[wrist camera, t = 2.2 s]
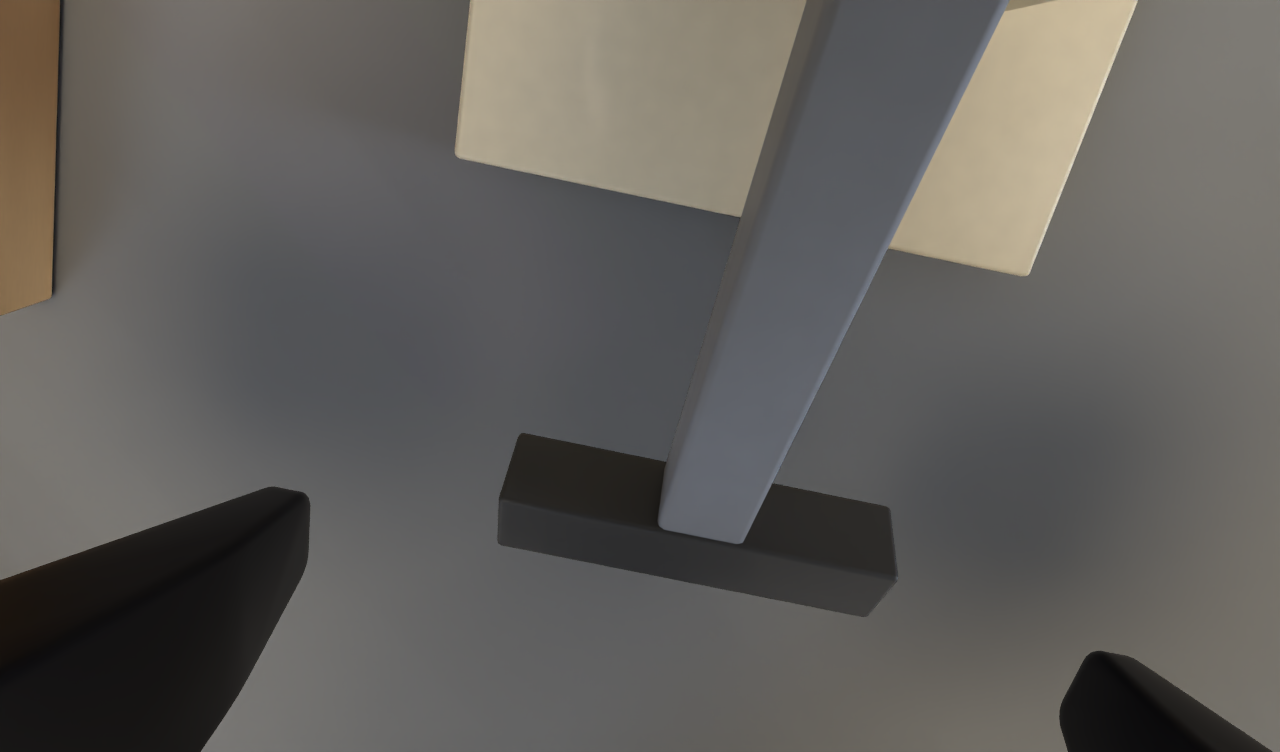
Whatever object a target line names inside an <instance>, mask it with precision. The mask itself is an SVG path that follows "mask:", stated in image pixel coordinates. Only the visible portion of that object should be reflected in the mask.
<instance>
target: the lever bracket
mask: <svg viewBox="0 0 1280 752" xmlns="http://www.w3.org/2000/svg"><path fill="white" fill-rule="evenodd" d="M806 1H807V0H470V7H469V16H468V26H467V36H466V45H465V55H464V65H463V74H462V84H461V94H460V103H459V113H458V123H457V132H456V142H455V155H456V156H457V157H458V158H460V159H464V160H469V161H473V162H478V163H483V164H488V165H492V166H497V167H502V168H507V169H511V170H516V171H521V172H526V173H531V174H535V175H540V176H545V177H550V178H554V179H559V180H564V181H569V182H573V183H578V184H583V185H588V186H592V187H597V188H602V189H607V190H611V191H616V192H621V193H626V194H631V195H635V196H640V197H645V198H650V199H654V200H659V201H664V202H669V203H673V204H678V205H683V206H688V207H692V208H697V209H702V210H707V211H711V212H716V213H721V214H726V215H731V216H735V217H740V218H741V215H742V212H743V209H744V205H745V202H746V199H747V195H748V192H749V189H750V185H751V182H752V179H753V176H754V172H755V169H756V166H757V162H758V159H759V156H760V153H761V149H762V146H763V143H764V139H765V136H766V133H767V130H768V126H769V123H770V120H771V116H772V113H773V110H774V106H775V103H776V100H777V97H778V93H779V90H780V87H781V83H782V80H783V77H784V74H785V70H786V67H787V64H788V60H789V57H790V54H791V51H792V47H793V44H794V41H795V37H796V34H797V31H798V27H799V24H800V21H801V18H802V14H803V11H804V8H805V4H806ZM1137 2H1138V0H1010V1H1009V3H1008V5H1007V7H1006V9H1005V11H1004V13H1003V15H1002V17H1001V19H1000V21H999V23H998V25H997V27H996V29H995V31H994V33H993V35H992V37H991V39H990V41H989V43H988V46H987V48H986V50H985V52H984V54H983V56H982V58H981V60H980V62H979V64H978V66H977V68H976V70H975V72H974V74H973V76H972V78H971V80H970V82H969V84H968V86H967V88H966V90H965V92H964V94H963V96H962V98H961V100H960V102H959V105H958V107H957V109H956V111H955V113H954V115H953V117H952V119H951V121H950V123H949V125H948V127H947V129H946V131H945V133H944V135H943V137H942V139H941V141H940V143H939V145H938V147H937V149H936V151H935V153H934V155H933V157H932V159H931V161H930V163H929V166H928V168H927V170H926V172H925V174H924V176H923V178H922V180H921V182H920V184H919V186H918V188H917V190H916V192H915V194H914V196H913V198H912V200H911V202H910V204H909V206H908V208H907V210H906V212H905V214H904V216H903V218H902V220H901V222H900V224H899V227H898V229H897V231H896V233H895V235H894V237H893V239H892V241H891V243H890V245H889V247H888V249H892V250H897V251H902V252H907V253H911V254H916V255H921V256H926V257H931V258H935V259H940V260H945V261H950V262H954V263H959V264H964V265H969V266H973V267H978V268H983V269H988V270H992V271H997V272H1002V273H1007V274H1011V275H1016V276H1021V277H1022V276H1027V275H1028V274H1029V273H1030V271H1031V268H1032V266H1033V263H1034V261H1035V258H1036V256H1037V253H1038V251H1039V248H1040V246H1041V243H1042V241H1043V238H1044V236H1045V233H1046V230H1047V228H1048V225H1049V223H1050V220H1051V218H1052V215H1053V213H1054V210H1055V208H1056V205H1057V203H1058V200H1059V198H1060V195H1061V193H1062V190H1063V188H1064V185H1065V183H1066V180H1067V178H1068V175H1069V173H1070V170H1071V168H1072V165H1073V163H1074V160H1075V158H1076V155H1077V153H1078V150H1079V148H1080V145H1081V143H1082V140H1083V138H1084V135H1085V132H1086V130H1087V127H1088V125H1089V122H1090V120H1091V117H1092V115H1093V112H1094V110H1095V107H1096V105H1097V102H1098V100H1099V97H1100V95H1101V92H1102V90H1103V87H1104V85H1105V82H1106V80H1107V77H1108V75H1109V72H1110V70H1111V67H1112V65H1113V62H1114V60H1115V57H1116V55H1117V52H1118V50H1119V47H1120V45H1121V42H1122V39H1123V37H1124V34H1125V32H1126V29H1127V27H1128V24H1129V22H1130V19H1131V17H1132V14H1133V12H1134V9H1135V7H1136V4H1137Z"/></svg>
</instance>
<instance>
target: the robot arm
mask: <svg viewBox="0 0 1280 752" xmlns="http://www.w3.org/2000/svg"><path fill="white" fill-rule="evenodd" d="M309 527H310V501H309V498H308V496H307V495H306V494H305V493H303V492H299V491H294V490H289V489H284V488H279V487H267V488H264V489H261V490H258V491H255V492H252V493H250V494H247V495H244V496H241V497H238V498H235V499H232V500H230V501H227V502H224V503H221V504H218V505H215V506H212V507H209V508H207V509H204V510H201V511H198V512H195V513H192V514H189V515H186V516H184V517H181V518H178V519H175V520H172V521H169V522H166V523H163V524H161V525H158V526H155V527H152V528H149V529H146V530H143V531H140V532H138V533H135V534H132V535H129V536H126V537H123V538H120V539H117V540H115V541H112V542H109V543H106V544H103V545H100V546H97V547H94V548H92V549H89V550H86V551H83V552H80V553H77V554H74V555H71V556H69V557H66V558H63V559H60V560H57V561H54V562H51V563H48V564H46V565H43V566H40V567H37V568H34V569H31V570H28V571H25V572H23V573H20V574H17V575H14V576H11V577H8V578H5V579H2V580H0V752H201V750H202V749H203V747H204V746H205V744H206V743H207V741H208V740H209V738H210V737H211V735H212V734H213V733H214V731H215V730H216V728H217V727H218V725H219V724H220V722H221V721H222V719H223V718H224V716H225V715H226V713H227V712H228V710H229V709H230V707H231V706H232V704H233V702H234V701H235V699H236V698H237V696H238V695H239V693H240V691H241V689H242V687H243V686H244V684H245V682H246V680H247V679H248V677H249V675H250V673H251V671H252V669H253V668H254V666H255V664H256V662H257V660H258V658H259V656H260V654H261V653H262V651H263V649H264V647H265V645H266V643H267V641H268V639H269V638H270V636H271V634H272V632H273V630H274V628H275V626H276V624H277V623H278V621H279V619H280V617H281V615H282V613H283V611H284V609H285V608H286V606H287V604H288V602H289V600H290V598H291V596H292V594H293V593H294V591H295V589H296V587H297V585H298V583H299V581H300V579H301V577H302V575H303V573H304V570H305V567H306V564H307V560H308V550H309ZM1059 718H1060V726H1061V730H1062V733H1063V737H1064V740H1065V743H1066V746H1067V750H1068V752H1272V751H1271V750H1269V749H1268V748H1266V747H1265V746H1263V745H1262V744H1260V743H1259V742H1258V741H1256V740H1255V739H1253V738H1252V737H1250V736H1249V735H1247V734H1246V733H1244V732H1243V731H1241V730H1240V729H1238V728H1237V727H1235V726H1234V725H1232V724H1231V723H1229V722H1228V721H1226V720H1225V719H1223V718H1222V717H1220V716H1219V715H1217V714H1216V713H1214V712H1213V711H1211V710H1210V709H1209V708H1207V707H1206V706H1204V705H1203V704H1201V703H1200V702H1198V701H1197V700H1195V699H1194V698H1192V697H1191V696H1189V695H1188V694H1186V693H1185V692H1183V691H1182V690H1180V689H1179V688H1177V687H1176V686H1174V685H1173V684H1171V683H1170V682H1168V681H1167V680H1165V679H1164V678H1162V677H1161V676H1160V675H1158V674H1157V673H1155V672H1154V671H1152V670H1151V669H1149V668H1148V667H1146V666H1145V665H1143V664H1142V663H1140V662H1139V661H1137V660H1135V659H1134V658H1131V657H1128V656H1125V655H1119V654H1114V653H1109V652H1104V651H1095V652H1092V653H1090V654H1089V655H1088V656H1086V658H1085V659H1084V661H1083V663H1082V664H1081V666H1080V668H1079V670H1078V672H1077V674H1076V676H1075V678H1074V680H1073V682H1072V684H1071V685H1070V687H1069V689H1068V691H1067V693H1066V695H1065V697H1064V699H1063V701H1062V703H1061V707H1060V715H1059Z"/></svg>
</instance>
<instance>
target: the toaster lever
mask: <svg viewBox="0 0 1280 752" xmlns="http://www.w3.org/2000/svg"><path fill="white" fill-rule="evenodd" d="M1009 1H1010V0H807V1H806V4H805V8H804V11H803V14H802V18H801V21H800V24H799V27H798V31H797V34H796V37H795V41H794V44H793V47H792V51H791V54H790V57H789V60H788V64H787V67H786V70H785V74H784V77H783V80H782V83H781V87H780V90H779V93H778V97H777V100H776V103H775V106H774V110H773V113H772V116H771V120H770V123H769V126H768V130H767V133H766V136H765V139H764V143H763V146H762V149H761V153H760V156H759V159H758V162H757V166H756V169H755V172H754V176H753V179H752V182H751V185H750V189H749V192H748V195H747V199H746V202H745V205H744V209H743V212H742V215H741V218H740V222H739V225H738V228H737V232H736V235H735V238H734V241H733V245H732V248H731V251H730V255H729V258H728V261H727V264H726V268H725V271H724V274H723V278H722V281H721V284H720V288H719V291H718V294H717V297H716V301H715V304H714V307H713V311H712V314H711V317H710V320H709V324H708V327H707V330H706V334H705V337H704V340H703V343H702V347H701V350H700V353H699V357H698V360H697V363H696V367H695V370H694V373H693V376H692V380H691V383H690V386H689V390H688V393H687V396H686V399H685V403H684V406H683V409H682V413H681V416H680V419H679V423H678V426H677V429H676V432H675V436H674V439H673V442H672V446H671V449H670V452H669V455H668V459H667V462H664V461H659V460H654V459H649V458H644V457H639V456H634V455H629V454H624V453H620V452H615V451H610V450H605V449H600V448H595V447H590V446H585V445H580V444H575V443H570V442H565V441H560V440H555V439H550V438H545V437H540V436H535V435H531V434H526V433H521V434H520V435H519V437H518V439H517V442H516V445H515V448H514V452H513V455H512V458H511V461H510V464H509V468H508V471H507V474H506V477H505V480H504V484H503V487H502V490H501V493H500V496H499V510H498V543H499V544H500V545H503V546H508V547H513V548H518V549H523V550H528V551H533V552H538V553H543V554H548V555H553V556H559V557H564V558H569V559H574V560H579V561H584V562H589V563H594V564H599V565H604V566H609V567H614V568H619V569H624V570H629V571H634V572H639V573H644V574H649V575H654V576H659V577H664V578H669V579H674V580H679V581H684V582H689V583H694V584H699V585H704V586H709V587H714V588H720V589H725V590H730V591H735V592H740V593H745V594H750V595H755V596H760V597H765V598H770V599H775V600H780V601H785V602H790V603H795V604H800V605H805V606H810V607H815V608H820V609H825V610H830V611H835V612H840V613H845V614H850V615H855V616H860V617H866V616H868V615H869V614H870V613H871V611H872V610H873V609H874V608H875V607H876V605H877V604H878V603H879V602H880V601H881V599H882V598H883V597H884V596H885V595H886V594H887V592H888V591H889V590H890V589H891V588H892V586H893V585H894V584H895V583H896V582H897V579H898V572H897V563H896V555H895V546H894V538H893V529H892V521H891V512H890V509H889V508H888V507H887V506H882V505H877V504H872V503H867V502H862V501H857V500H852V499H847V498H842V497H837V496H832V495H827V494H822V493H817V492H812V491H807V490H803V489H798V488H793V487H788V486H783V485H778V484H773V481H774V479H775V477H776V475H777V473H778V471H779V468H780V466H781V464H782V462H783V460H784V458H785V456H786V454H787V452H788V450H789V448H790V446H791V444H792V442H793V440H794V438H795V436H796V434H797V432H798V430H799V428H800V426H801V424H802V422H803V420H804V418H805V416H806V414H807V412H808V410H809V407H810V405H811V403H812V401H813V399H814V397H815V395H816V393H817V391H818V389H819V387H820V385H821V383H822V381H823V379H824V377H825V375H826V373H827V371H828V369H829V367H830V365H831V363H832V361H833V359H834V357H835V355H836V353H837V351H838V349H839V346H840V344H841V342H842V340H843V338H844V336H845V334H846V332H847V330H848V328H849V326H850V324H851V322H852V320H853V318H854V316H855V314H856V312H857V310H858V308H859V306H860V304H861V302H862V300H863V298H864V296H865V294H866V292H867V290H868V288H869V285H870V283H871V281H872V279H873V277H874V275H875V273H876V271H877V269H878V267H879V265H880V263H881V261H882V259H883V257H884V255H885V253H886V251H887V249H888V247H889V245H890V243H891V241H892V239H893V237H894V235H895V233H896V231H897V229H898V227H899V224H900V222H901V220H902V218H903V216H904V214H905V212H906V210H907V208H908V206H909V204H910V202H911V200H912V198H913V196H914V194H915V192H916V190H917V188H918V186H919V184H920V182H921V180H922V178H923V176H924V174H925V172H926V170H927V168H928V166H929V163H930V161H931V159H932V157H933V155H934V153H935V151H936V149H937V147H938V145H939V143H940V141H941V139H942V137H943V135H944V133H945V131H946V129H947V127H948V125H949V123H950V121H951V119H952V117H953V115H954V113H955V111H956V109H957V107H958V105H959V102H960V100H961V98H962V96H963V94H964V92H965V90H966V88H967V86H968V84H969V82H970V80H971V78H972V76H973V74H974V72H975V70H976V68H977V66H978V64H979V62H980V60H981V58H982V56H983V54H984V52H985V50H986V48H987V46H988V43H989V41H990V39H991V37H992V35H993V33H994V31H995V29H996V27H997V25H998V23H999V21H1000V19H1001V17H1002V15H1003V13H1004V11H1005V9H1006V7H1007V5H1008V3H1009Z"/></svg>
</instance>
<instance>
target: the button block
mask: <svg viewBox="0 0 1280 752" xmlns="http://www.w3.org/2000/svg"><path fill="white" fill-rule="evenodd" d="M59 27H60V0H0V316H1V315H4V314H7V313H10V312H13V311H16V310H19V309H22V308H24V307H27V306H30V305H33V304H36V303H39V302H42V301H45V300H48V299H50V298H51V296H52V269H53V234H54V200H55V165H56V131H57V96H58V62H59Z"/></svg>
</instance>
